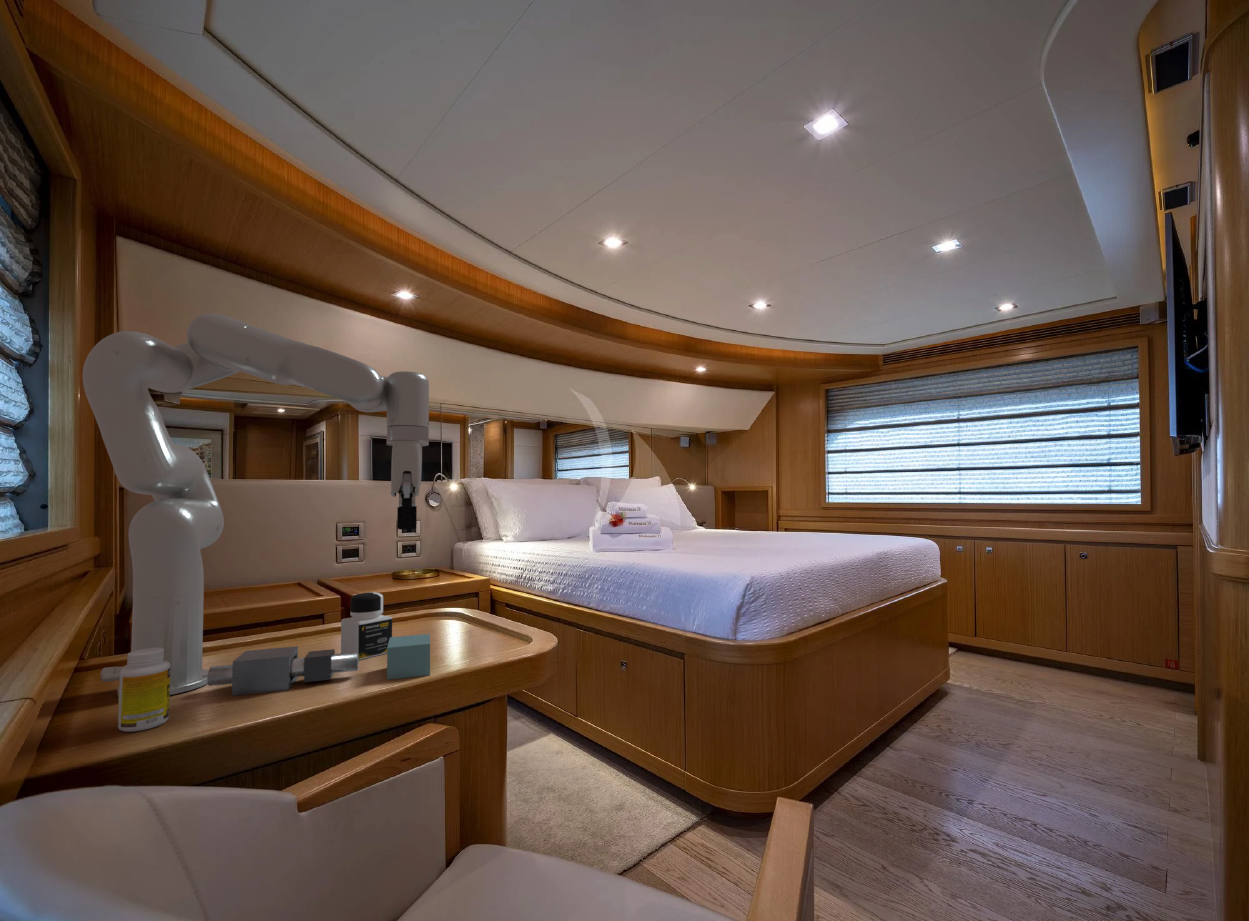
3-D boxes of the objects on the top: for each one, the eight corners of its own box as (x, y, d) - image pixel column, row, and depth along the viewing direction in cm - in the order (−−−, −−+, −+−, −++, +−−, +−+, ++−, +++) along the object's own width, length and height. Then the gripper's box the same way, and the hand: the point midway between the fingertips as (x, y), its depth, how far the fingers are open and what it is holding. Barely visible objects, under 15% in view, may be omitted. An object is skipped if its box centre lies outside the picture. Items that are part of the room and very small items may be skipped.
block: (387, 679, 100) (387, 647, 100) (389, 667, 107) (389, 637, 108) (430, 675, 102) (430, 643, 102) (429, 663, 110) (429, 633, 110)
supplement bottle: (175, 723, 82) (177, 649, 83) (124, 736, 78) (127, 658, 78) (161, 715, 85) (163, 644, 86) (112, 727, 81) (114, 652, 81)
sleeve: (231, 696, 93) (232, 661, 93) (244, 683, 100) (245, 650, 100) (288, 690, 96) (289, 656, 96) (297, 677, 102) (298, 646, 102)
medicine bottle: (358, 660, 112) (359, 597, 113) (340, 655, 116) (340, 594, 117) (392, 652, 118) (393, 592, 119) (373, 647, 122) (374, 589, 123)
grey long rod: (205, 693, 93) (206, 667, 93) (214, 684, 97) (215, 660, 97) (356, 676, 100) (356, 653, 100) (359, 669, 104) (359, 646, 104)
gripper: (388, 441, 118) (388, 526, 117) (384, 432, 102) (383, 531, 100) (428, 442, 120) (427, 525, 119) (429, 433, 104) (429, 529, 103)
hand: (407, 527), depth 110 cm, fingers open, 9 cm apart
